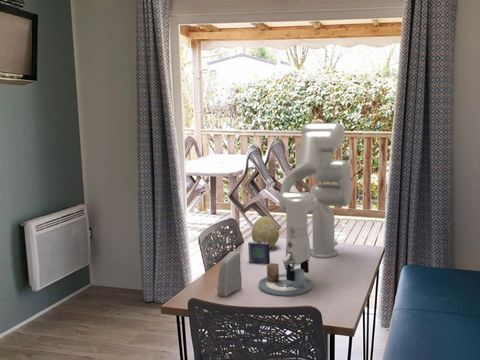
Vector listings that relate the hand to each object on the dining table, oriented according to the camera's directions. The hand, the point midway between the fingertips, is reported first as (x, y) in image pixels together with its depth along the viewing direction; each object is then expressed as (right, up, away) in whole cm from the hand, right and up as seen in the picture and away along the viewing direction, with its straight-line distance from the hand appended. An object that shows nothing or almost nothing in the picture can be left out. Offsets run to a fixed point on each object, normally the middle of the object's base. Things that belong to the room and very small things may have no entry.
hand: (297, 276), depth 193 cm
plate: (-4, -4, +3) cm, 7 cm away
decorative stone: (-25, -6, 0) cm, 26 cm away
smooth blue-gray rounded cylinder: (0, -4, 0) cm, 4 cm away
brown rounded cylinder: (-9, -3, +7) cm, 11 cm away
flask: (-13, 0, +31) cm, 34 cm away
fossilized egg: (-9, +3, +52) cm, 53 cm away
